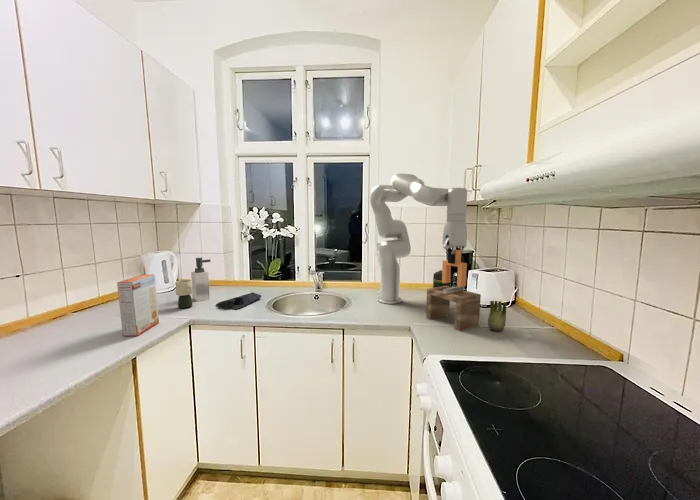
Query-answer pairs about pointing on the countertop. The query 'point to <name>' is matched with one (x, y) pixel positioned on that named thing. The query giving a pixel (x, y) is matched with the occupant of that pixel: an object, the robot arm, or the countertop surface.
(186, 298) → the character mug
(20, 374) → the countertop surface
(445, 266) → the orange stepped arch block
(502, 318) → the fennel bulb
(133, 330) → the cracker box
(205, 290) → the soap dispenser
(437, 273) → the coffee jar
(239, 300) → the dark slate chunk
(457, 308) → the small wooden table
